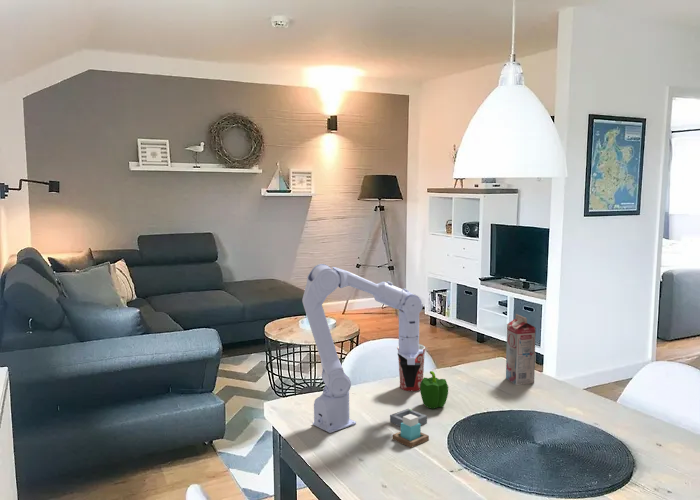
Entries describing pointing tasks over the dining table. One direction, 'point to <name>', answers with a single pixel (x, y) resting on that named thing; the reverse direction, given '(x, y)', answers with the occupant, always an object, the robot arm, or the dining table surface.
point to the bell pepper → (434, 391)
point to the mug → (419, 374)
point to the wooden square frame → (410, 443)
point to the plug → (410, 427)
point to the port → (398, 417)
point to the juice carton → (520, 351)
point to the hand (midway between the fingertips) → (408, 382)
